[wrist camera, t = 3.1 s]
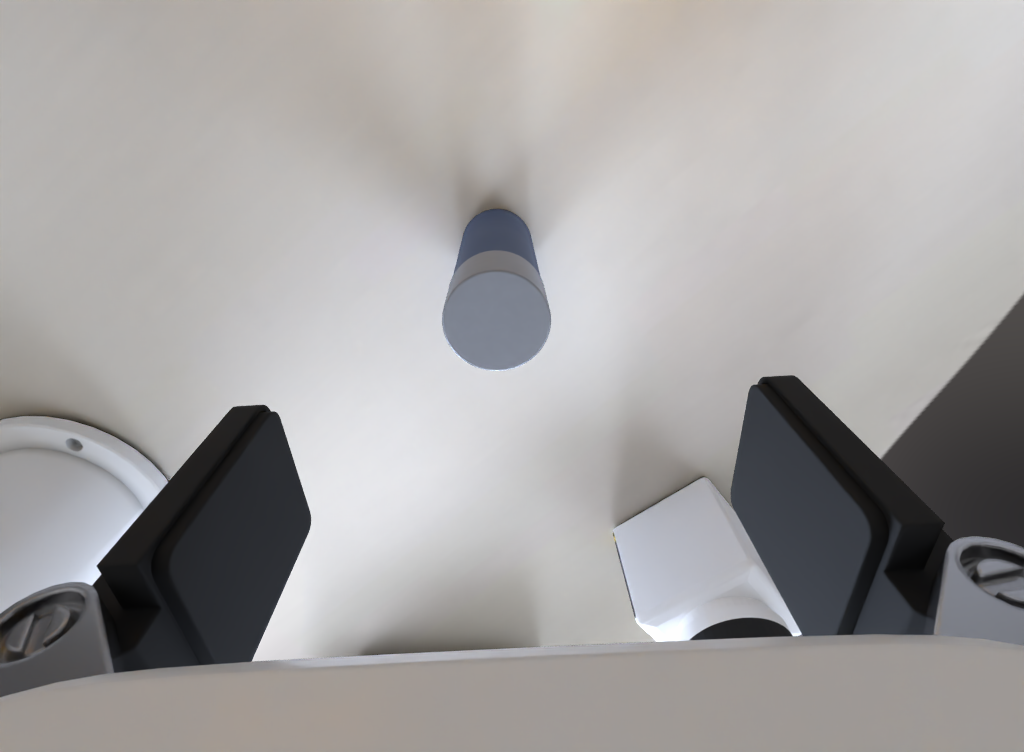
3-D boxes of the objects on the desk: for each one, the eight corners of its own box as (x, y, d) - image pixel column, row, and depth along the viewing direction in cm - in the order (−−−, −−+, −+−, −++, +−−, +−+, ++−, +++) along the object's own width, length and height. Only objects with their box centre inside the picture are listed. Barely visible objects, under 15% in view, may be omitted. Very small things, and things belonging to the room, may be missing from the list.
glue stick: (465, 281, 27) (448, 375, 18) (457, 210, 25) (435, 274, 16) (533, 276, 27) (552, 368, 18) (530, 205, 25) (549, 266, 16)
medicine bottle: (609, 528, 35) (658, 717, 24) (704, 472, 33) (803, 652, 22) (665, 585, 38) (731, 777, 27) (756, 537, 36) (866, 725, 25)
